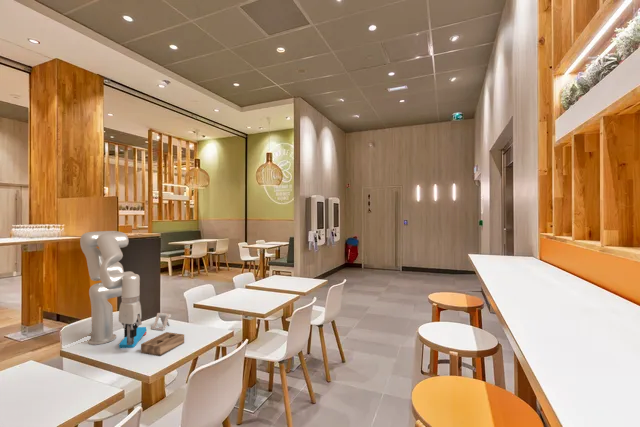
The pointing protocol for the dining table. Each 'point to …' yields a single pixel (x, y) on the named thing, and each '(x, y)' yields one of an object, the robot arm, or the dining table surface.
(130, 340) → the pin
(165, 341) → the hole block
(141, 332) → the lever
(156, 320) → the portable electronic device stand
